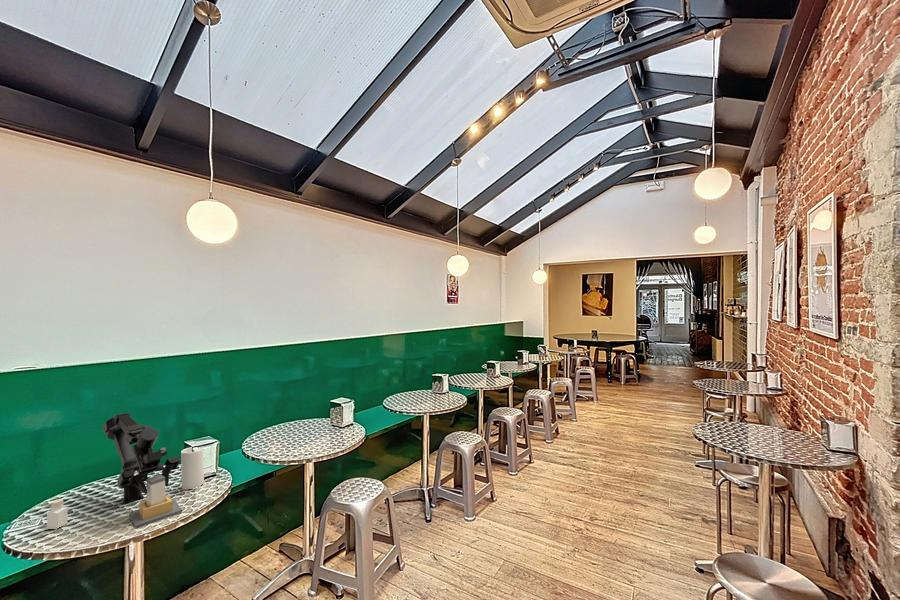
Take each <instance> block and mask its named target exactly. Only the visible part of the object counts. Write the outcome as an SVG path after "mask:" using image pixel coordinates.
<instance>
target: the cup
mask: <svg viewBox="0 0 900 600" xmlns="http://www.w3.org/2000/svg"><path fill="white" fill-rule="evenodd" d="M192 447H193V446H191V447H190V446H189V447H187V448H184V449H182V450H181V452H180V457H181V458H180V463H181V464H180V467H181V469H180V470H181V471H180V472H181V473H180V477H181V490H182V489H185V490H184V491H187V490H186V489H192V490H194V489H193V488H196V487H199V486H201V485H202V484H203V485H204V484H205V465H204V463H205V461H204V446H202V449H200V450H198V451H194V452H192ZM203 485H202V486H203ZM202 486H201V487H202ZM199 488H200V487H199ZM196 489H197V488H196Z"/></svg>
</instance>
